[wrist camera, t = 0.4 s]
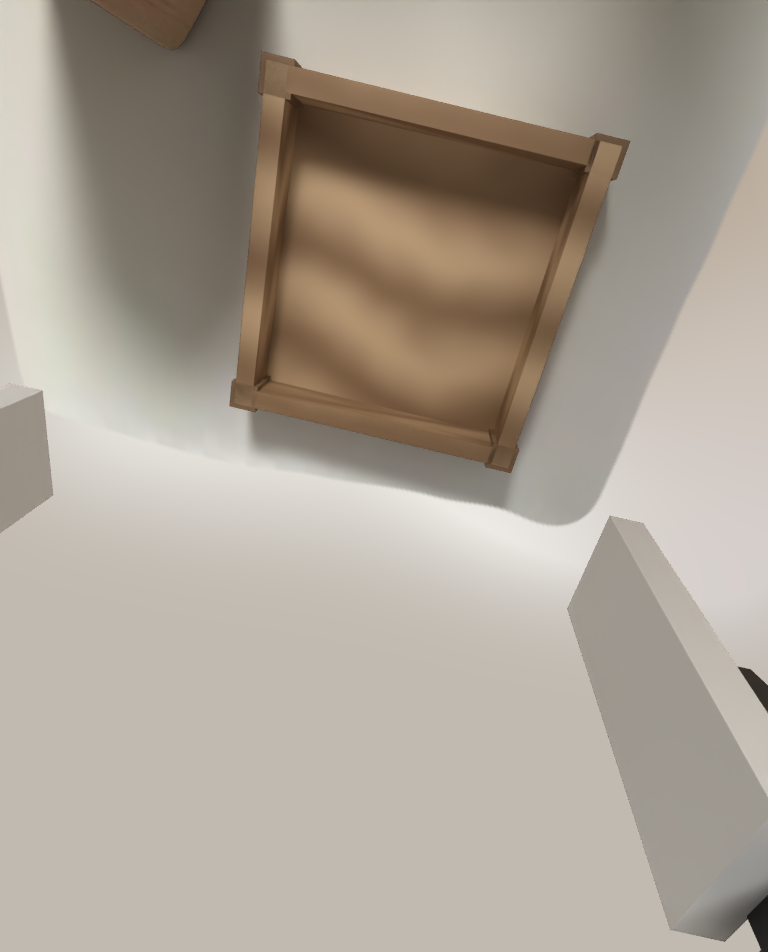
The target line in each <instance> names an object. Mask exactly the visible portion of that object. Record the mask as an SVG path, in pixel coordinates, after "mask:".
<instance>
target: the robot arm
mask: <svg viewBox="0 0 768 952" xmlns="http://www.w3.org/2000/svg"><path fill="white" fill-rule="evenodd" d="M52 495H53V489H52V479H51V469H50V459H49V450H48V440H47V430H46V421H45V410H44V401H43V391H42V390H37V389H33V388H28V387H24V386H19V385H14V384H10V383H9V384H7V385H4V386H1V387H0V533H1V532H2V531H4V530H5V529H7V528H8V527H9V526H11V525H12V524H14V523H15V522H16V521H18V520H19V519H20V518H22V517H23V516H25V515H26V514H27V513H29V512H30V511H32V510H33V509H35V508H36V507H37V506H39V505H40V504H41V503H43V502H44V501H46V500H47V499H49V498H50V497H51V496H52ZM568 612H569V616H570V618H571V622H572V625H573V628H574V631H575V634H576V637H577V641H578V644H579V647H580V650H581V653H582V656H583V659H584V662H585V665H586V669H587V672H588V675H589V678H590V681H591V684H592V687H593V690H594V694H595V697H596V700H597V703H598V706H599V709H600V712H601V715H602V718H603V722H604V725H605V728H606V731H607V734H608V737H609V740H610V743H611V747H612V750H613V753H614V756H615V759H616V762H617V765H618V768H619V771H620V775H621V778H622V781H623V784H624V787H625V790H626V793H627V797H628V800H629V803H630V806H631V809H632V812H633V815H634V818H635V821H636V825H637V828H638V831H639V834H640V837H641V840H642V843H643V846H644V849H645V853H646V856H647V859H648V862H649V865H650V868H651V871H652V875H653V878H654V881H655V884H656V887H657V890H658V893H659V896H660V899H661V903H662V906H663V909H664V912H665V915H666V918H667V921H668V925H669V928H670V930H674V931H679V932H684V933H688V934H692V935H697V936H702V937H706V938H710V939H715V940H719V941H724V942H725V941H726V940H727V939H728V938H729V937H730V936H731V935H732V934H733V933H734V932H735V931H736V930H737V929H738V928H739V927H740V926H741V925H742V924H743V923H744V922H745V921H746V920H747V919H748V920H749V923H750V925H751V927H752V929H753V932H754V934H755V936H756V938H757V941H758V943H759V946H760V948H761V951H760V952H768V685H767V684H766V683H765V682H764V681H762V680H761V679H760V678H759V677H758V676H757V675H756V674H755V673H754V672H753V671H752V670H751V669H746V668H742V667H737V666H736V664H735V663H734V661H733V660H732V658H731V657H730V655H729V653H728V652H727V650H726V649H725V647H724V646H723V644H722V643H721V641H720V640H719V638H718V637H717V635H716V634H715V632H714V631H713V629H712V628H711V626H710V625H709V623H708V622H707V620H706V619H705V617H704V615H703V614H702V612H701V611H700V609H699V608H698V606H697V605H696V603H695V602H694V600H693V599H692V597H691V596H690V594H689V593H688V591H687V590H686V588H685V587H684V585H683V584H682V582H681V581H680V579H679V577H678V576H677V574H676V573H675V572H674V570H673V568H672V567H671V565H670V564H669V562H668V561H667V559H666V558H665V556H664V555H663V553H662V551H661V550H660V548H659V547H658V545H657V544H656V542H655V541H654V539H653V538H652V536H651V535H650V533H649V532H648V530H647V529H646V527H645V526H644V524H643V523H640V522H635V521H631V520H625V519H622V518H617V517H613V516H610V517H609V519H608V521H607V523H606V525H605V528H604V530H603V532H602V534H601V536H600V539H599V541H598V543H597V545H596V547H595V549H594V552H593V554H592V556H591V558H590V560H589V562H588V565H587V567H586V569H585V571H584V574H583V576H582V578H581V580H580V582H579V585H578V587H577V589H576V591H575V593H574V595H573V597H572V600H571V602H570V604H569V606H568Z"/></svg>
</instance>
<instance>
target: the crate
mask: <svg viewBox="0 0 768 952" xmlns="http://www.w3.org/2000/svg"><path fill="white" fill-rule="evenodd" d="M258 93H260V94H261V95H262V96H263V102H262V112H261V123H260V133H259V144H258V155H257V165H256V176H255V187H254V197H253V208H252V219H251V229H250V240H249V251H248V261H247V272H246V282H245V293H244V304H243V314H242V325H241V336H240V346H239V357H238V368H237V378H235V379H234V380H233V381H232V385H231V396H230V406H231V407H235V408H240V409H244V410H248V411H252V412H256V411H257V410H258V409H261V410H265V411H270V412H274V413H278V414H282V415H286V416H291V417H295V418H299V419H303V420H307V421H312V422H316V423H320V424H324V425H328V426H333V427H337V428H341V429H345V430H349V431H354V432H358V433H362V434H366V435H370V436H375V437H379V438H383V439H387V440H391V441H396V442H400V443H404V444H408V445H412V446H417V447H421V448H425V449H429V450H433V451H437V452H442V453H446V454H450V455H454V456H458V457H463V458H467V459H471V460H475V461H479V462H484V463H485V466H486V467H487V468H491V469H496V470H500V471H504V472H508V473H511V471H512V469H513V466H514V463H515V460H516V457H517V455H518V452H519V448H518V445H517V442H518V439H519V436H520V433H521V430H522V428H523V425H524V422H525V419H526V416H527V413H528V411H529V408H530V405H531V402H532V399H533V397H534V394H535V391H536V388H537V385H538V383H539V380H540V377H541V374H542V371H543V369H544V366H545V363H546V360H547V357H548V354H549V352H550V349H551V346H552V343H553V340H554V338H555V335H556V332H557V329H558V326H559V324H560V321H561V318H562V315H563V312H564V309H565V307H566V304H567V301H568V298H569V295H570V293H571V290H572V287H573V284H574V281H575V279H576V276H577V273H578V270H579V267H580V265H581V262H582V259H583V256H584V253H585V250H586V248H587V245H588V242H589V239H590V236H591V234H592V231H593V228H594V225H595V222H596V220H597V217H598V214H599V211H600V208H601V206H602V203H603V200H604V197H605V194H606V191H607V189H608V186H609V183H610V181H612V180H616V179H617V177H618V174H619V171H620V169H621V166H622V163H623V160H624V157H625V155H626V152H627V149H628V146H629V144H630V141H628V140H624V139H620V138H615V137H611V136H607V135H603V134H599V133H597V134H595V135H593V136H592V137H590V138H586V137H582V136H578V135H574V134H570V133H566V132H562V131H558V130H554V129H549V128H545V127H541V126H537V125H533V124H529V123H525V122H521V121H517V120H512V119H508V118H504V117H500V116H496V115H492V114H488V113H484V112H480V111H475V110H471V109H467V108H463V107H459V106H455V105H451V104H447V103H443V102H438V101H434V100H430V99H426V98H422V97H418V96H414V95H410V94H406V93H402V92H397V91H393V90H389V89H385V88H381V87H377V86H373V85H369V84H365V83H360V82H356V81H352V80H348V79H344V78H340V77H336V76H332V75H328V74H323V73H319V72H315V71H311V70H307V69H303V68H302V67H301V66H300V65H299V64H298V62H297V61H296V60H295V59H291V58H287V57H283V56H279V55H275V54H270V53H266V52H261V63H260V74H259V85H258Z"/></svg>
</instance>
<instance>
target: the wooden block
mask: <svg viewBox="0 0 768 952" xmlns="http://www.w3.org/2000/svg"><path fill="white" fill-rule="evenodd" d="M90 1H92V2H94V3H95V4H97V5H98V6H100V7H101V8H103V9H104V10H106V11H107V12H109V13H111V14H112V15H114V16H115V17H117V18H118V19H120V20H121V21H123V22H124V23H126V24H128V25H129V26H131V27H132V28H134V29H135V30H137V31H138V32H140V33H142V34H143V35H145V36H146V37H148V38H149V39H151V40H152V41H154V42H155V43H157V44H159V45H161V46H163V47H166V48H168V49H171V50H175V49H177V48H178V47H179V46H180V45H181V44H182V43H183V42H184V41H185V39H186V37H187V35H188V34H189V32H190V30H191V28H192V26H193V24H194V23H195V21H196V19H197V17H198V15H199V13H200V11H201V10H202V8H203V6H204V4H205V2H206V0H90Z"/></svg>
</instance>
